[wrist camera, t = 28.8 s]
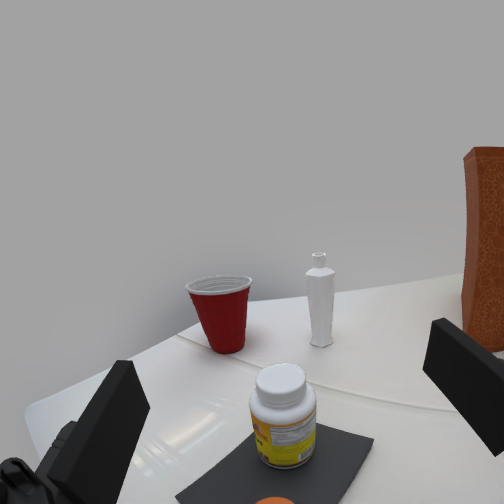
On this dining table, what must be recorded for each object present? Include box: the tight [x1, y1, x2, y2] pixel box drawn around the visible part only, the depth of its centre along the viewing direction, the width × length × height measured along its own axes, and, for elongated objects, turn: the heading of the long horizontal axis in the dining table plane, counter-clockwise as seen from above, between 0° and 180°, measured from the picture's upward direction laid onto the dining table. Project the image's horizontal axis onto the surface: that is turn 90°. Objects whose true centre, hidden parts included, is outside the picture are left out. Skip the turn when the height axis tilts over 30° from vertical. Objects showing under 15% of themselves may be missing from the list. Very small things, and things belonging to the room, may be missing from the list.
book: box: [462, 147, 504, 352], centre depth 35 cm, size 23×8×30 cm, turn 142°
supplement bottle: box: [249, 363, 316, 469], centre depth 22 cm, size 6×6×10 cm
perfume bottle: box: [305, 253, 335, 348], centre depth 43 cm, size 5×4×15 cm
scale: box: [175, 423, 374, 504], centre depth 19 cm, size 16×12×3 cm
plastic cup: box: [185, 275, 252, 354], centre depth 46 cm, size 11×11×12 cm
